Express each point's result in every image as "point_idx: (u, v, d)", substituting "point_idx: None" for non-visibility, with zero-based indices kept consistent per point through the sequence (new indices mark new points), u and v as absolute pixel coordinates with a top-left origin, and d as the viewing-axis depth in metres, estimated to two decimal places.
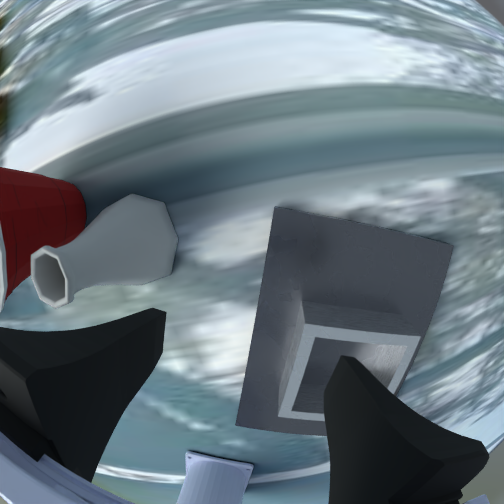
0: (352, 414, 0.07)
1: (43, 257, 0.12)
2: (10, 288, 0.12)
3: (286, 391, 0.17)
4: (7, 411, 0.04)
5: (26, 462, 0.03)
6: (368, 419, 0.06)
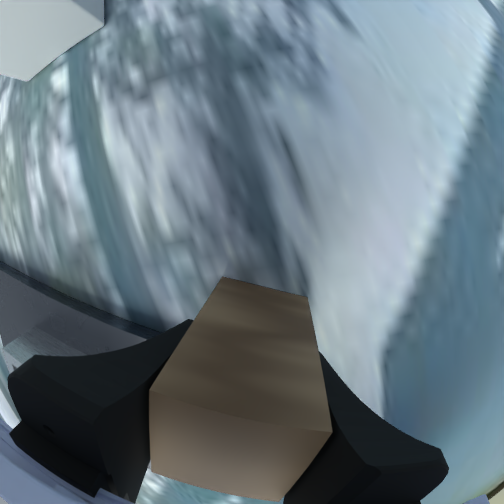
0: None
1: None
2: None
3: None
4: (52, 446, 0.03)
5: (26, 462, 0.03)
6: None
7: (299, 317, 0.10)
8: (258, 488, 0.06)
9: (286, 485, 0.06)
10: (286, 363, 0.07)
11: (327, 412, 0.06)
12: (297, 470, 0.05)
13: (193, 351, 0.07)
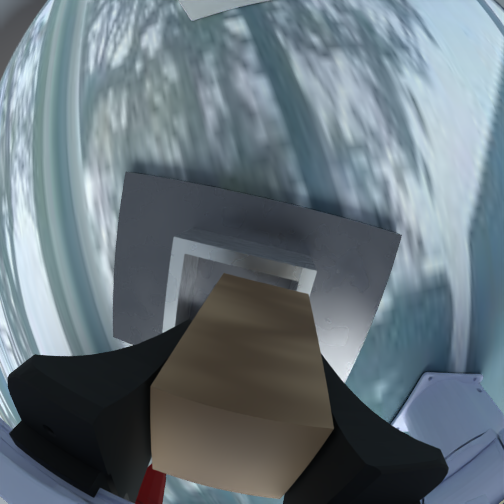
0: None
1: None
2: None
3: None
4: (52, 446, 0.03)
5: (26, 462, 0.03)
6: None
7: (300, 314, 0.10)
8: (258, 485, 0.06)
9: (287, 482, 0.06)
10: (287, 359, 0.07)
11: (328, 409, 0.06)
12: (298, 467, 0.05)
13: (194, 347, 0.07)
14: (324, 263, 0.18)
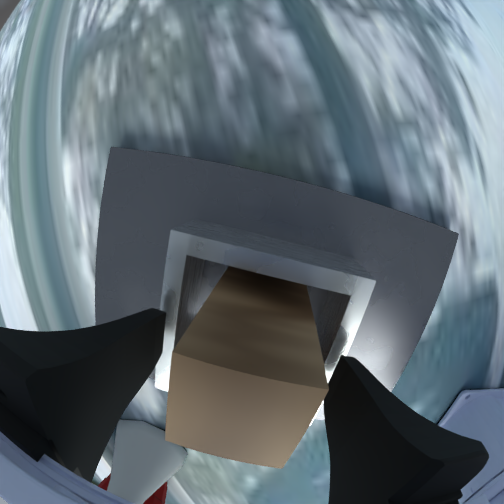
0: (352, 414, 0.07)
1: None
2: None
3: None
4: (7, 411, 0.04)
5: (26, 462, 0.03)
6: (368, 419, 0.06)
7: (299, 300, 0.12)
8: (263, 452, 0.07)
9: (289, 448, 0.07)
10: (287, 335, 0.09)
11: (324, 374, 0.07)
12: (299, 431, 0.07)
13: (207, 323, 0.08)
14: (371, 268, 0.13)
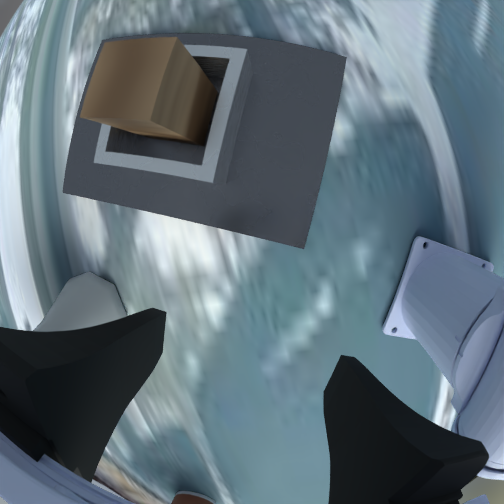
0: (352, 414, 0.07)
1: None
2: None
3: (168, 173, 0.15)
4: (7, 411, 0.04)
5: (26, 462, 0.03)
6: (368, 419, 0.06)
7: None
8: (137, 100, 0.10)
9: (154, 91, 0.09)
10: None
11: (181, 43, 0.09)
12: (160, 70, 0.09)
13: None
14: (267, 77, 0.16)
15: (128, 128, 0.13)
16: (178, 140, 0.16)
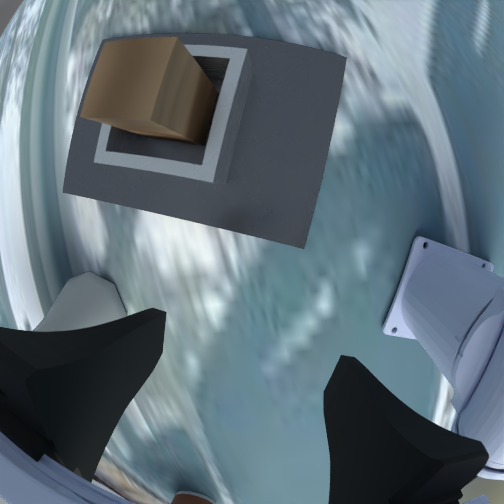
0: (352, 414, 0.07)
1: None
2: None
3: (168, 173, 0.15)
4: (7, 411, 0.04)
5: (26, 462, 0.03)
6: (368, 419, 0.06)
7: None
8: (137, 100, 0.10)
9: (154, 91, 0.09)
10: None
11: (181, 43, 0.09)
12: (160, 70, 0.09)
13: None
14: (267, 77, 0.16)
15: (128, 128, 0.13)
16: (178, 140, 0.16)
